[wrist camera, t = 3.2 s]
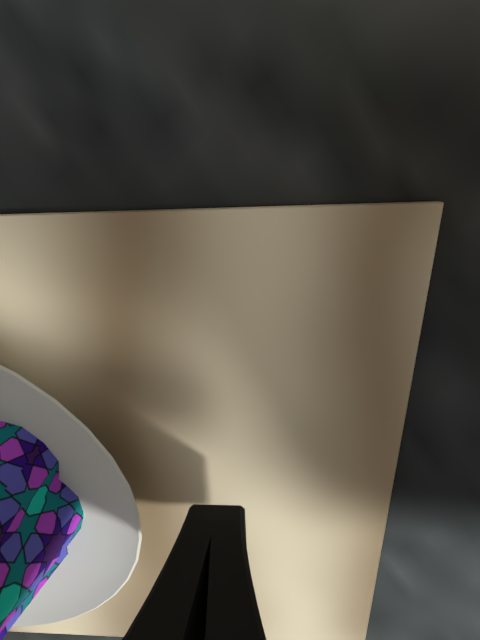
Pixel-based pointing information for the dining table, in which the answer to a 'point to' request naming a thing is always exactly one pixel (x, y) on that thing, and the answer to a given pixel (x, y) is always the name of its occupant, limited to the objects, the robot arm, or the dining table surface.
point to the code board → (233, 380)
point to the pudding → (58, 512)
